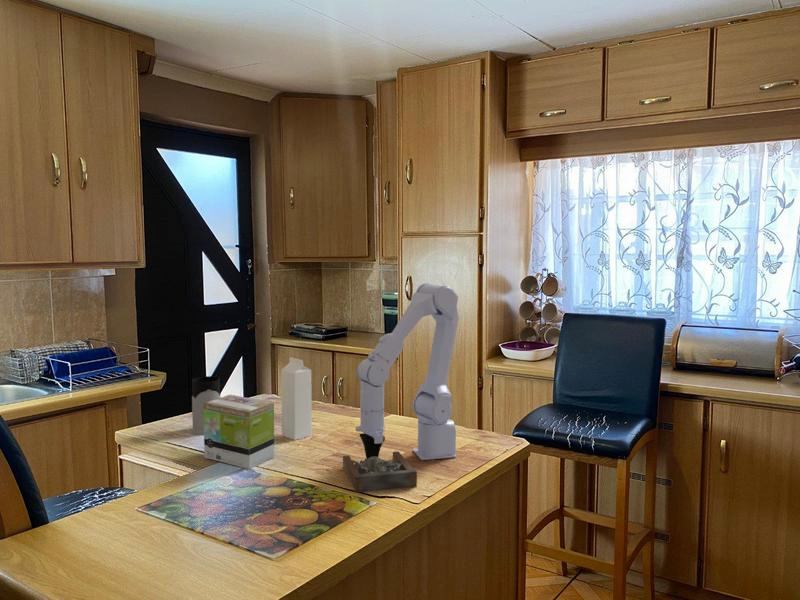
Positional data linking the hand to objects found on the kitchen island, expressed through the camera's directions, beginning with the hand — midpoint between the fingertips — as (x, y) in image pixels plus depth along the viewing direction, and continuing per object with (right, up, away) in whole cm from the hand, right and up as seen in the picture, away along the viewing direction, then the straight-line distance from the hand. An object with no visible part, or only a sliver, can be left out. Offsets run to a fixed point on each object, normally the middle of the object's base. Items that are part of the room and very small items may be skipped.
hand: (372, 463), depth 156 cm
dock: (+2, -2, -6) cm, 6 cm away
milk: (-22, +1, +24) cm, 33 cm away
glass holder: (-50, +2, +31) cm, 59 cm away
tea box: (-34, 0, +5) cm, 34 cm away
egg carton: (+1, -2, -6) cm, 7 cm away
